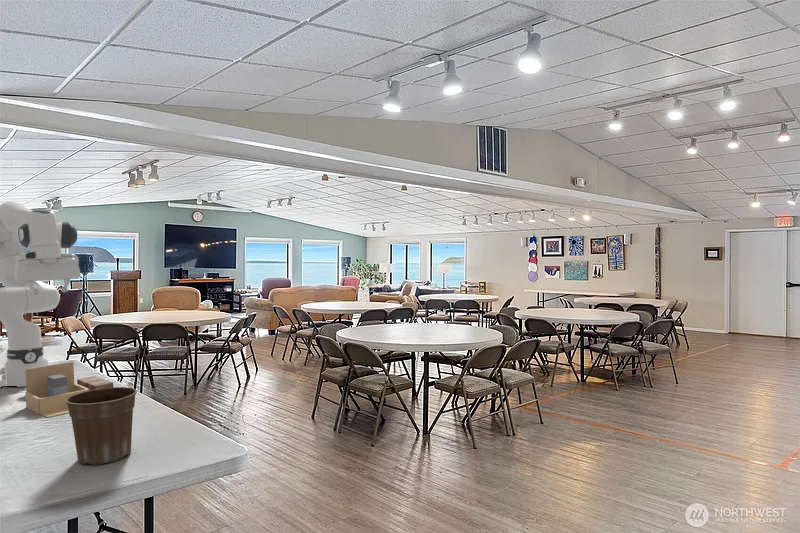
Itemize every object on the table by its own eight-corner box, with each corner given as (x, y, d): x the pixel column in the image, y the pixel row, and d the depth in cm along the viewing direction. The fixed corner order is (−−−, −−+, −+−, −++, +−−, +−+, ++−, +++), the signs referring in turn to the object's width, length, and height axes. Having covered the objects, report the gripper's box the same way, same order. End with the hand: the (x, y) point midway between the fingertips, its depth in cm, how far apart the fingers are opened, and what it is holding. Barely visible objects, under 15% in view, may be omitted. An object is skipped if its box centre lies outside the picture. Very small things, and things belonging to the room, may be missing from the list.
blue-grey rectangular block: (48, 405, 191) (47, 376, 191) (61, 402, 194) (60, 374, 194) (55, 408, 187) (53, 378, 187) (68, 405, 190) (66, 376, 190)
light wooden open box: (25, 407, 189) (23, 369, 189) (75, 397, 201) (73, 361, 200) (45, 418, 176) (44, 377, 176) (98, 406, 188) (96, 368, 188)
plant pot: (60, 457, 143) (57, 395, 143) (126, 440, 155) (124, 383, 154) (78, 475, 132) (75, 407, 131) (148, 456, 143) (146, 393, 142)
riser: (77, 395, 203) (77, 379, 202) (95, 392, 207) (94, 376, 207) (95, 403, 192) (95, 386, 192) (113, 399, 197) (113, 382, 197)
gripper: (74, 254, 209) (78, 291, 209) (10, 256, 193) (14, 296, 193) (81, 252, 205) (84, 290, 205) (16, 254, 189) (20, 295, 189)
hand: (50, 293), depth 199 cm, fingers open, 8 cm apart
